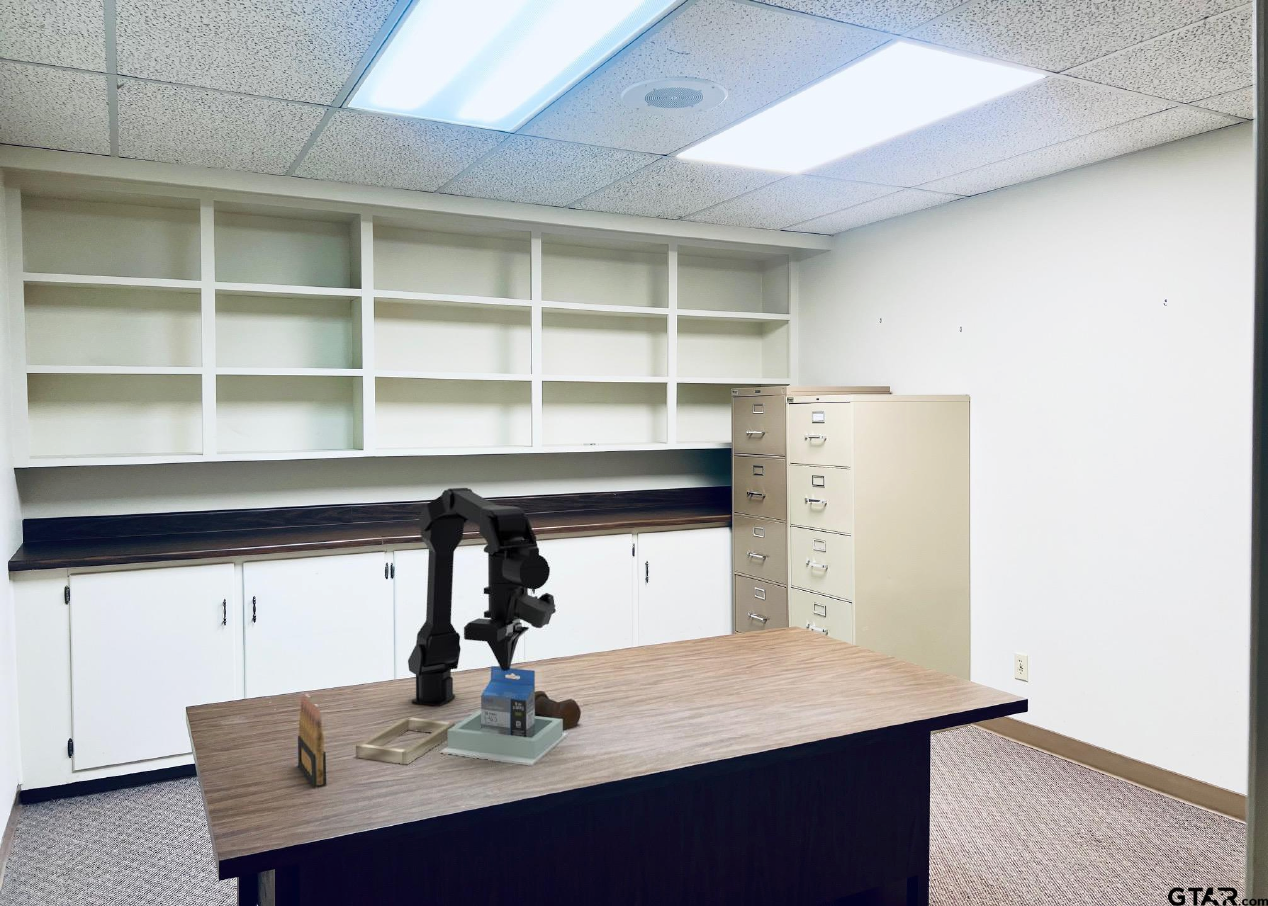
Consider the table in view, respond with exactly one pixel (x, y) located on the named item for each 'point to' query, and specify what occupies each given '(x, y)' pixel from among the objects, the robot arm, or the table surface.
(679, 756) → the table surface
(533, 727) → the label tape cartridge
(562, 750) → the table surface
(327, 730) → the table surface
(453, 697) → the robot arm
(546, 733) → the slot plate
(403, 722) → the beige open rectangular frame
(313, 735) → the ammunition clip
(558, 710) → the bolt
